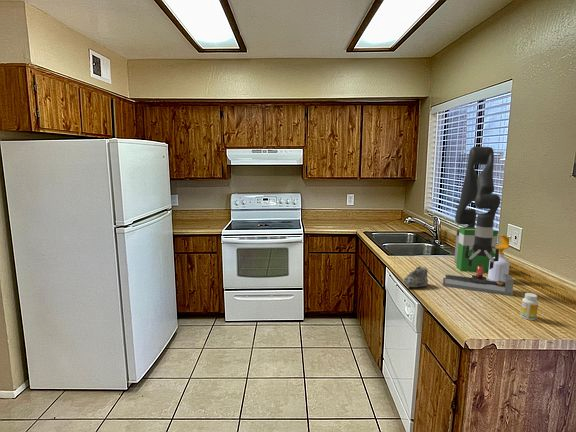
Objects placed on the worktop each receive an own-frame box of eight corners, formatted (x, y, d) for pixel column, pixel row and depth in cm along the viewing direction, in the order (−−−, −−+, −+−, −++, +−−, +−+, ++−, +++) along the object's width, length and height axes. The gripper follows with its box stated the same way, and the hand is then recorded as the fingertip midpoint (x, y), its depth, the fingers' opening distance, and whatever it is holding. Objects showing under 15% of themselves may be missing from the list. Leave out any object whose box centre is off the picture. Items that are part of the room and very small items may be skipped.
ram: (471, 281, 175) (473, 263, 173) (485, 283, 172) (487, 265, 171) (472, 285, 170) (473, 266, 168) (486, 287, 167) (488, 268, 166)
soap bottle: (483, 278, 186) (488, 233, 182) (496, 276, 189) (500, 232, 185) (499, 283, 177) (504, 236, 174) (511, 281, 181) (517, 235, 177)
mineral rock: (404, 289, 169) (406, 269, 167) (399, 281, 180) (400, 262, 178) (432, 290, 168) (433, 270, 166) (425, 282, 179) (426, 263, 177)
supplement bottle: (518, 317, 139) (521, 294, 138) (521, 313, 143) (524, 291, 142) (535, 321, 136) (538, 298, 134) (537, 317, 140) (540, 294, 138)
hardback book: (488, 268, 202) (492, 228, 199) (493, 272, 195) (498, 230, 191) (456, 267, 205) (459, 227, 201) (460, 271, 197) (464, 229, 194)
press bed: (443, 280, 182) (444, 266, 181) (510, 289, 169) (511, 274, 168) (442, 285, 174) (443, 271, 173) (513, 296, 161) (514, 280, 160)
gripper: (499, 235, 167) (496, 267, 170) (466, 232, 173) (463, 263, 176) (501, 238, 161) (497, 272, 163) (467, 235, 167) (464, 267, 169)
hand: (480, 267), depth 170 cm, fingers open, 8 cm apart
